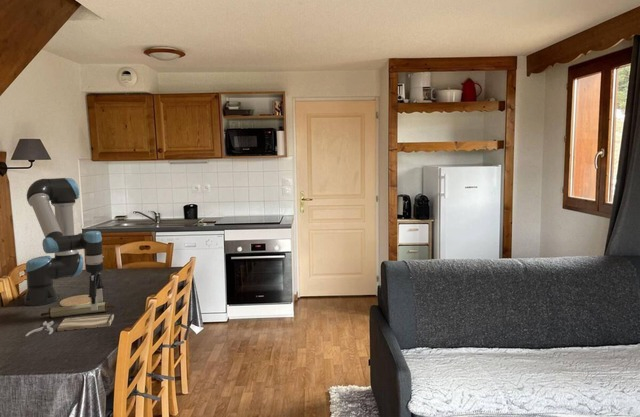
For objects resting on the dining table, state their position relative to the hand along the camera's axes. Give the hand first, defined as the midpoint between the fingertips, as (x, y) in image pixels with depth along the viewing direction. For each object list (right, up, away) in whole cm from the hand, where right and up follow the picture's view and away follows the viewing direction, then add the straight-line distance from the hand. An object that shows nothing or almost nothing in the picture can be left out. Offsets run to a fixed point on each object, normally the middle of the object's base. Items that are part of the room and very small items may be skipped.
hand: (97, 305), depth 227 cm
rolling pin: (-7, -4, -3) cm, 9 cm away
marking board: (+3, -5, -16) cm, 17 cm away
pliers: (-13, -6, -22) cm, 26 cm away
